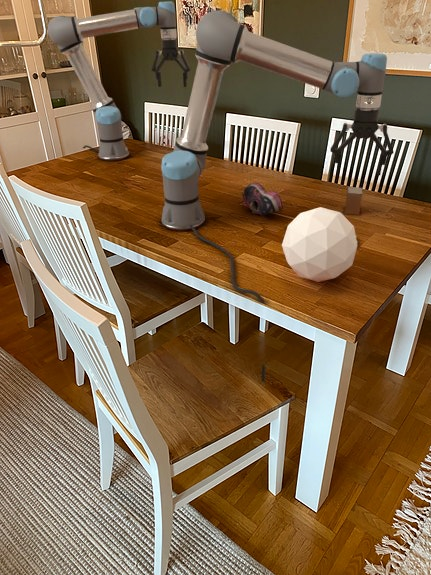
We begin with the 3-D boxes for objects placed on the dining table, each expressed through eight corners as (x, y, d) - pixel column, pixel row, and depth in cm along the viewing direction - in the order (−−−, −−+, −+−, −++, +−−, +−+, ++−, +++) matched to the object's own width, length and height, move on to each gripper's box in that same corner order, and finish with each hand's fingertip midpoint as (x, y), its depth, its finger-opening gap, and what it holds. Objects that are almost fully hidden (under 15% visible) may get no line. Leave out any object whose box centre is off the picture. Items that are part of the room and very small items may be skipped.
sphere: (325, 304, 123) (342, 278, 104) (265, 266, 127) (271, 234, 108) (360, 253, 127) (382, 220, 109) (301, 218, 132) (312, 180, 113)
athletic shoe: (254, 181, 170) (227, 189, 167) (283, 176, 151) (253, 185, 147) (260, 210, 173) (234, 218, 170) (290, 209, 154) (261, 219, 150)
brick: (345, 207, 163) (348, 187, 159) (358, 208, 162) (361, 187, 158) (345, 213, 158) (348, 192, 154) (359, 214, 157) (362, 193, 153)
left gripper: (142, 40, 215) (147, 87, 226) (191, 39, 210) (193, 87, 221) (147, 39, 221) (152, 85, 232) (195, 38, 216) (197, 85, 227)
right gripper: (327, 110, 141) (320, 175, 152) (410, 111, 136) (397, 178, 147) (327, 105, 147) (321, 168, 158) (407, 106, 142) (395, 171, 153)
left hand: (172, 86), depth 227 cm, fingers open, 13 cm apart
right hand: (358, 173), depth 153 cm, fingers open, 13 cm apart
